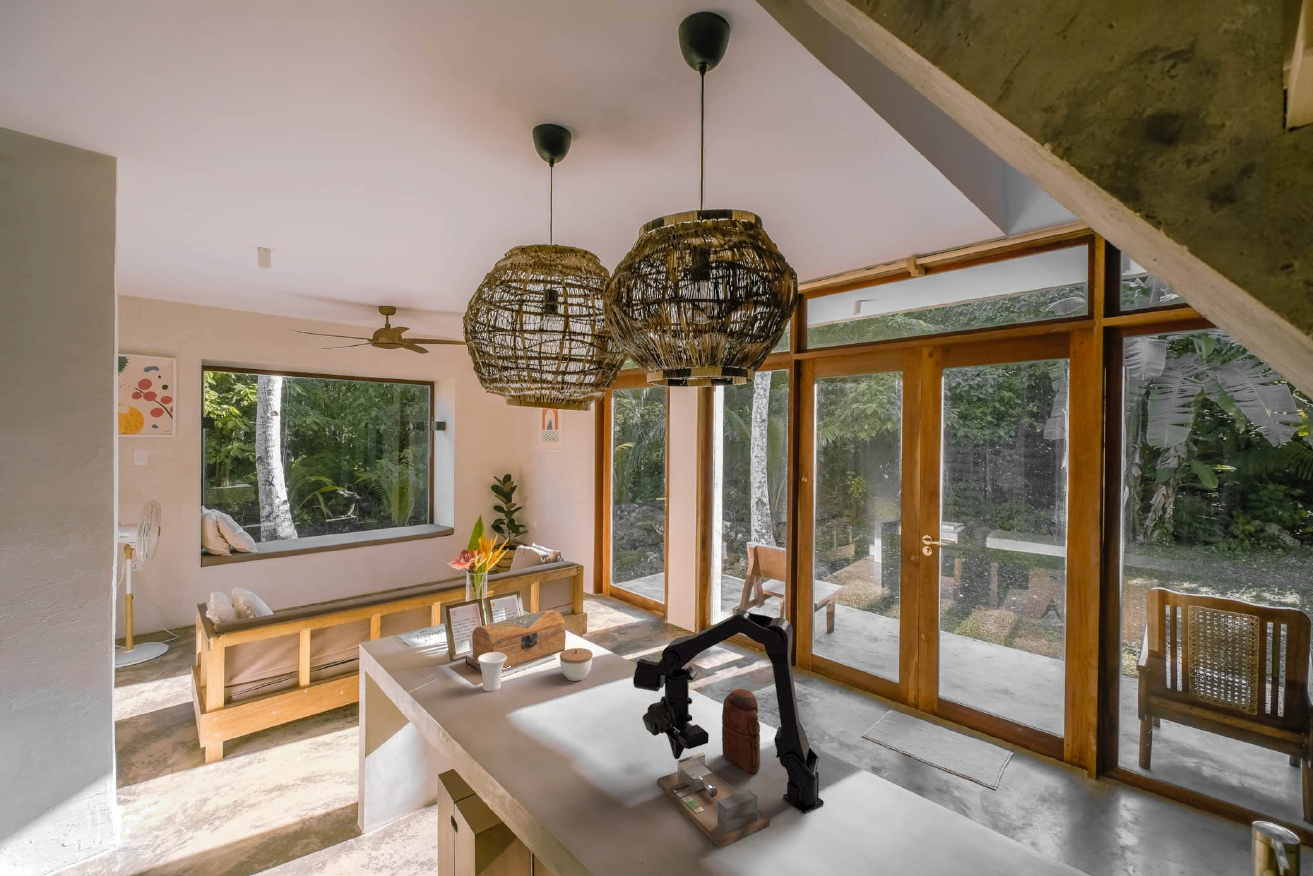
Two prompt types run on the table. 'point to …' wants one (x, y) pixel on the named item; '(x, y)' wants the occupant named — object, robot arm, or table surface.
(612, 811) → the table surface
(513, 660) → the wooden box
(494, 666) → the cup
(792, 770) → the robot arm
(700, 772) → the gauge carriage
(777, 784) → the table surface
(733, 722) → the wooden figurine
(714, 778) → the gauge base
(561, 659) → the lidded jar
